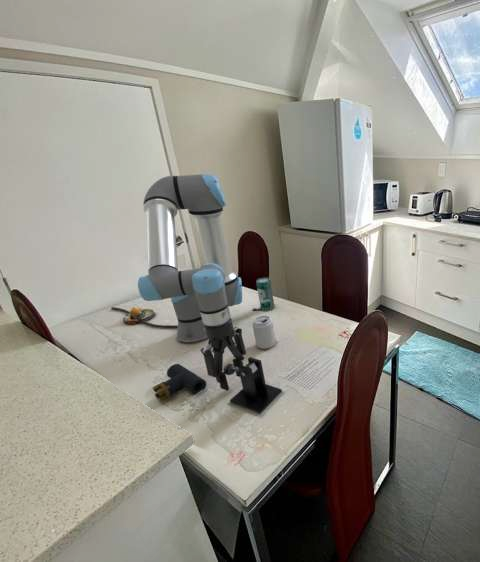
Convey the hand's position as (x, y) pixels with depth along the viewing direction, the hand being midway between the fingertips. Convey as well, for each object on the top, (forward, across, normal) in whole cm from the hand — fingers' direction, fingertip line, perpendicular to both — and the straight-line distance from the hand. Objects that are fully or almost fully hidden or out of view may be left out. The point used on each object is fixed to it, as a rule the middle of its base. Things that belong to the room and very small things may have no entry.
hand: (232, 382), depth 101 cm
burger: (+4, +18, +79) cm, 81 cm away
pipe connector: (+4, -7, +17) cm, 19 cm away
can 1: (+4, +50, +29) cm, 58 cm away
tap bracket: (+3, 0, -9) cm, 10 cm away
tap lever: (-5, 0, -5) cm, 7 cm away
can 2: (+4, +24, +8) cm, 26 cm away
